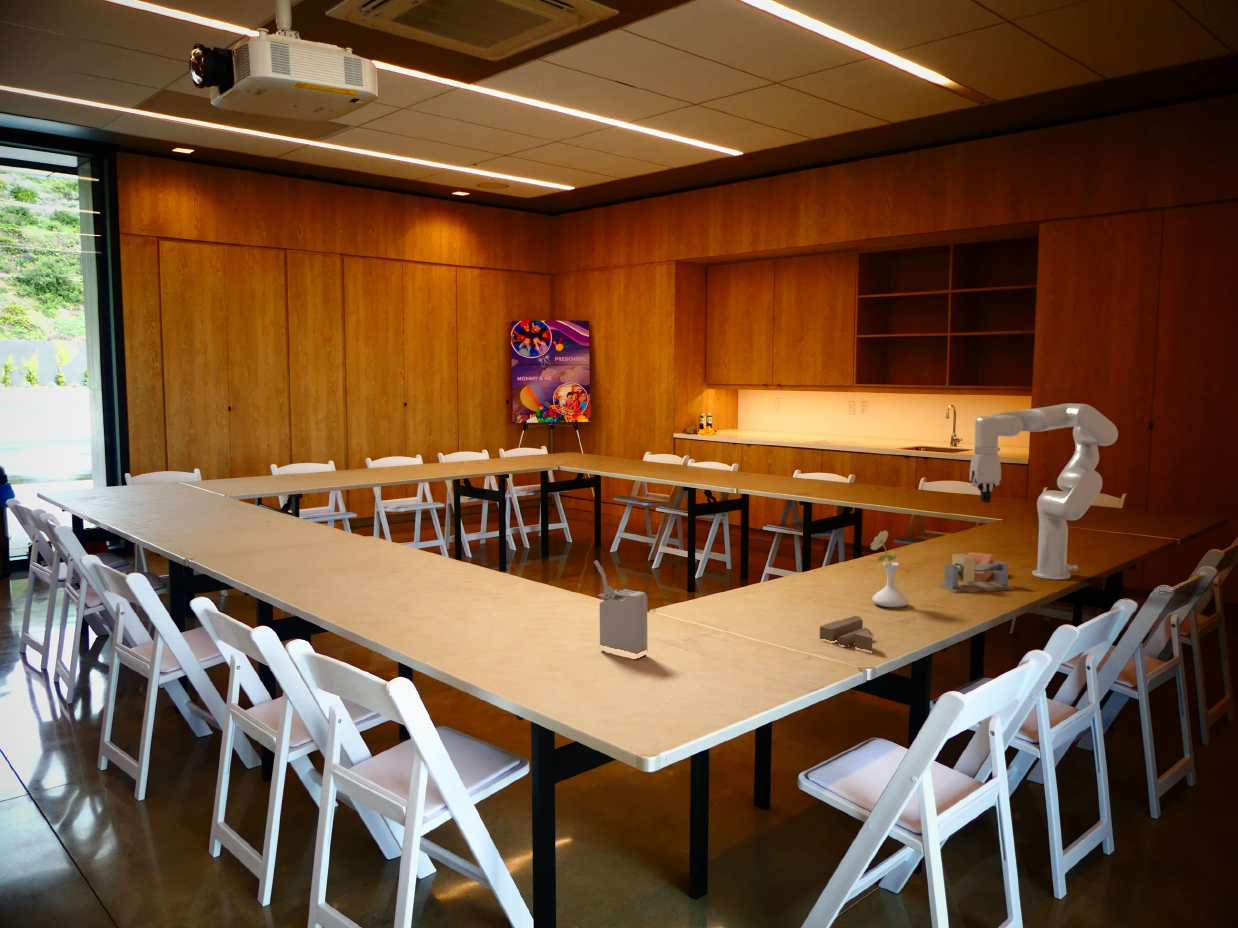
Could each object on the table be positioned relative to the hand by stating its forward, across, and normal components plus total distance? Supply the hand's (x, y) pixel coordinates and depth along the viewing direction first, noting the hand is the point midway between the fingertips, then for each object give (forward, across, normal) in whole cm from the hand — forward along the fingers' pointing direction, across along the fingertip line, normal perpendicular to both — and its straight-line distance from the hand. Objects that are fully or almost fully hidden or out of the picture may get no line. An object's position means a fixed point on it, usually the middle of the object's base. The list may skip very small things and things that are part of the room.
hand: (985, 502), depth 312 cm
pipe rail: (+28, +10, +9) cm, 31 cm away
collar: (+25, +15, +8) cm, 30 cm away
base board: (+28, +10, +9) cm, 31 cm away
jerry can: (+25, +147, +46) cm, 156 cm away
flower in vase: (+28, +51, +22) cm, 62 cm away
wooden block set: (+27, +78, +53) cm, 98 cm away
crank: (+29, -1, -6) cm, 30 cm away
